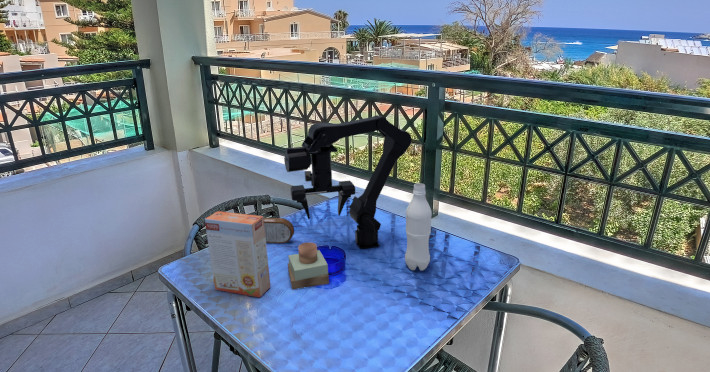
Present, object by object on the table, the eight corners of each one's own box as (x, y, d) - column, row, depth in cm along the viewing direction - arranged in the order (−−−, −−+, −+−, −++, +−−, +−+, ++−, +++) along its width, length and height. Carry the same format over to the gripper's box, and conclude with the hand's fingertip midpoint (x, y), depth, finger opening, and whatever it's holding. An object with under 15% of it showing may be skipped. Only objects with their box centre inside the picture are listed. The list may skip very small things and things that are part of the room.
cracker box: (271, 286, 113) (264, 215, 106) (259, 299, 108) (251, 224, 101) (227, 278, 117) (218, 209, 111) (214, 290, 112) (203, 218, 105)
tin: (295, 240, 139) (293, 217, 136) (293, 245, 136) (291, 221, 133) (251, 239, 141) (248, 216, 138) (248, 243, 138) (245, 220, 135)
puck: (315, 253, 118) (314, 241, 117) (319, 262, 114) (318, 249, 113) (297, 256, 117) (296, 243, 116) (301, 265, 112) (300, 252, 111)
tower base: (322, 267, 123) (322, 258, 122) (329, 285, 114) (328, 275, 113) (288, 272, 121) (287, 263, 120) (292, 291, 112) (291, 281, 111)
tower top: (319, 259, 122) (319, 249, 121) (328, 274, 114) (327, 264, 113) (289, 264, 119) (288, 255, 118) (295, 280, 111) (294, 270, 110)
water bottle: (434, 266, 121) (438, 184, 113) (420, 275, 116) (423, 191, 108) (414, 258, 126) (416, 179, 118) (399, 267, 121) (400, 185, 113)
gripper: (346, 157, 131) (348, 204, 136) (287, 162, 127) (290, 210, 132) (355, 167, 121) (356, 217, 126) (290, 173, 117) (294, 224, 122)
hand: (324, 216), depth 127 cm, fingers open, 9 cm apart
